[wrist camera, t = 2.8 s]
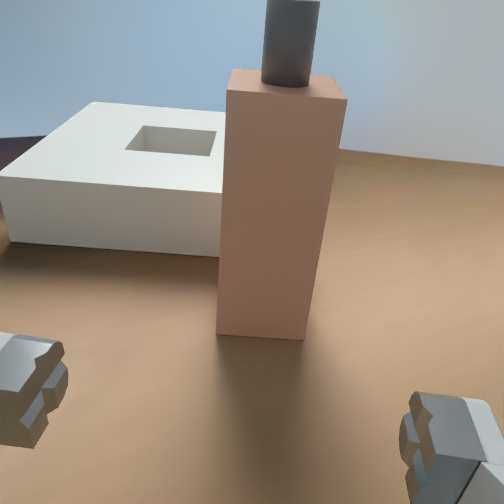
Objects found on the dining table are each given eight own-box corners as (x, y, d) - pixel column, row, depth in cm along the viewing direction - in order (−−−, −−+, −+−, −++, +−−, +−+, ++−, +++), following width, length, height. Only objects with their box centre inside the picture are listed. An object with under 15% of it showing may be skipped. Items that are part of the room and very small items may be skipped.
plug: (297, 288, 27) (343, 1, 19) (303, 340, 23) (363, 8, 15) (222, 282, 27) (237, -8, 19) (215, 334, 23) (231, -4, 15)
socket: (281, 163, 45) (286, 117, 42) (291, 262, 29) (300, 199, 27) (97, 148, 44) (92, 101, 42) (10, 241, 29) (-6, 175, 26)
